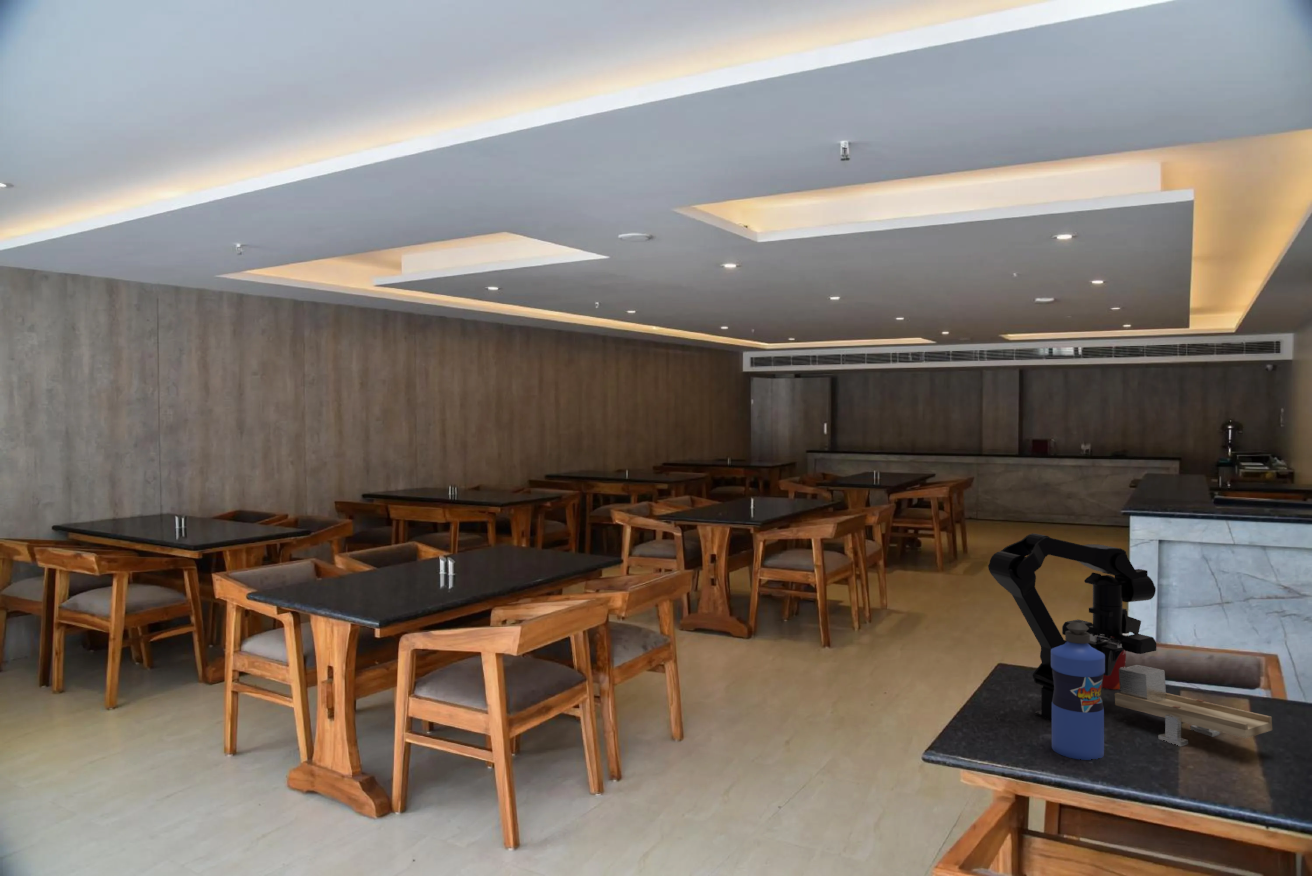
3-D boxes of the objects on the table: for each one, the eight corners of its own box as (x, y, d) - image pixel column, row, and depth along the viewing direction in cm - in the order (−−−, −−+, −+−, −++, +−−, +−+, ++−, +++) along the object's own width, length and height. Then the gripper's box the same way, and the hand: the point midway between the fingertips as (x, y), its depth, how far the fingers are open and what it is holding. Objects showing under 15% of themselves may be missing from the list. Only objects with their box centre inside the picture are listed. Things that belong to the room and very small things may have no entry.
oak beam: (1245, 742, 158) (1244, 723, 159) (1115, 709, 182) (1114, 692, 182) (1272, 734, 162) (1271, 715, 162) (1141, 702, 185) (1140, 685, 186)
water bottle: (1116, 758, 163) (1116, 626, 162) (1070, 762, 161) (1070, 629, 160) (1083, 739, 172) (1083, 614, 171) (1040, 743, 170) (1040, 617, 169)
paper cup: (1135, 690, 200) (1135, 630, 199) (1101, 691, 200) (1101, 631, 200) (1118, 680, 208) (1118, 622, 207) (1085, 680, 208) (1085, 622, 207)
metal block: (1147, 704, 177) (1145, 674, 177) (1120, 697, 182) (1118, 668, 182) (1166, 699, 179) (1164, 670, 179) (1138, 692, 185) (1137, 664, 185)
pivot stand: (1180, 746, 167) (1180, 721, 167) (1158, 739, 171) (1158, 714, 171) (1219, 734, 173) (1219, 710, 173) (1197, 727, 177) (1197, 703, 177)
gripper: (1173, 608, 183) (1172, 681, 183) (1093, 592, 199) (1093, 659, 200) (1139, 614, 178) (1138, 689, 178) (1060, 597, 194) (1060, 666, 195)
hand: (1107, 675), depth 188 cm, fingers closed
